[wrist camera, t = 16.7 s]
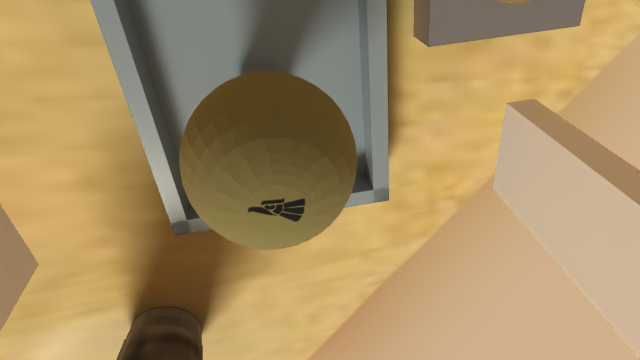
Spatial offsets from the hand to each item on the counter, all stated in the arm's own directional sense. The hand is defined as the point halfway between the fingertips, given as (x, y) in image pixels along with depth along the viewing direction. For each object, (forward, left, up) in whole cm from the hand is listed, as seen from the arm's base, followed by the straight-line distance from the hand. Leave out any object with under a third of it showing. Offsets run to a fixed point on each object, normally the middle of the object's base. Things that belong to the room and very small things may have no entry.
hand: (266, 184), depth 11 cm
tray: (0, 0, -10) cm, 10 cm away
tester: (-5, +11, -10) cm, 16 cm away
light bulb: (+1, 0, -10) cm, 10 cm away
